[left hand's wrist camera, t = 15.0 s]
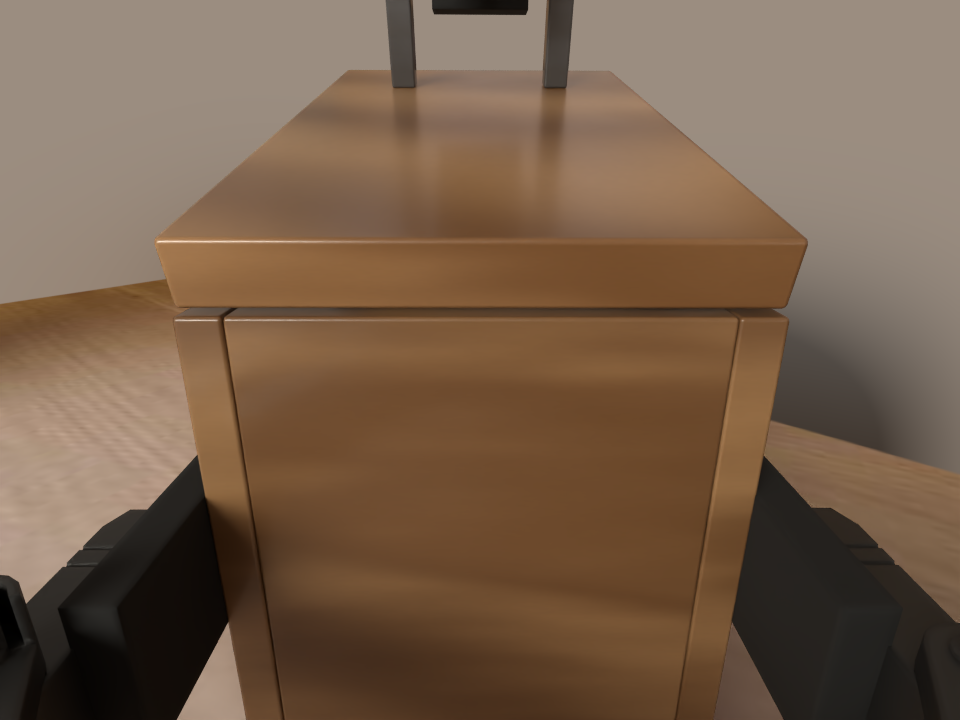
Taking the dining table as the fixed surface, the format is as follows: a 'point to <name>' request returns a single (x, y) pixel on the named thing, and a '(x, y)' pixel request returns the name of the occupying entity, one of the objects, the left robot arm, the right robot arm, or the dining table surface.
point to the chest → (480, 504)
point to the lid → (480, 200)
